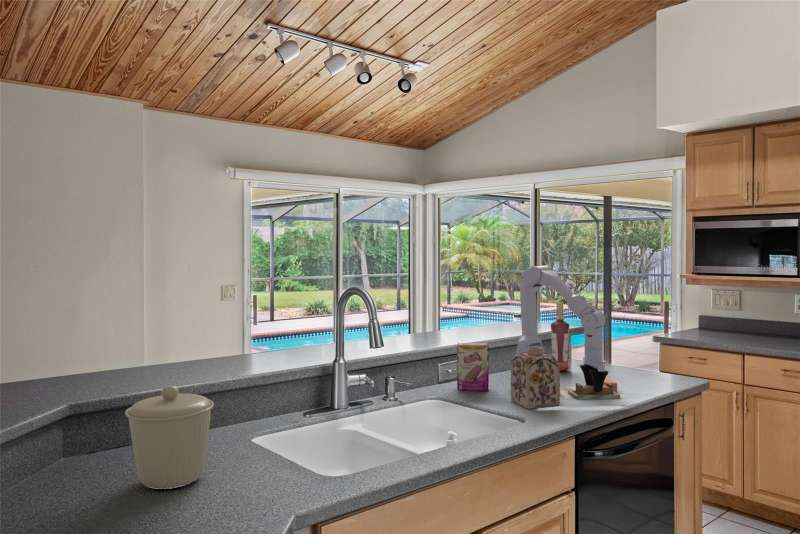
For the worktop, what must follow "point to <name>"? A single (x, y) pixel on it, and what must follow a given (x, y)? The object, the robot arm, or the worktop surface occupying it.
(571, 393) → the jig
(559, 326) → the liquor
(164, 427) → the canister
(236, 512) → the worktop surface
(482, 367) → the candy bar box
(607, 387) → the brown u-shaped block
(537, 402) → the decorative jar
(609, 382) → the pink rectangular block
